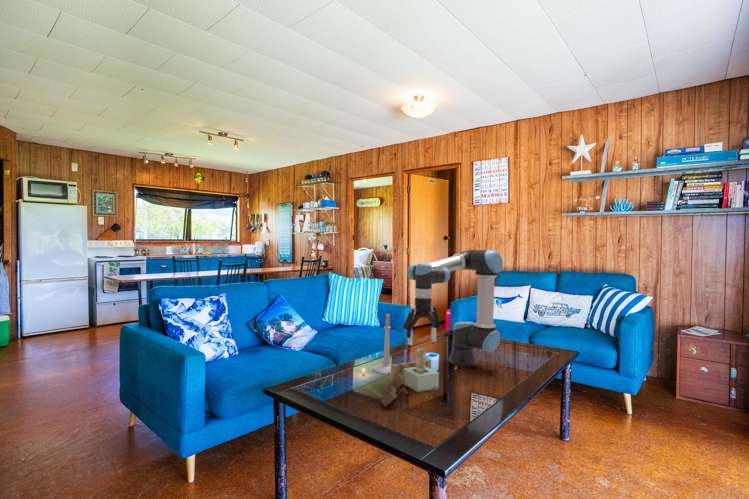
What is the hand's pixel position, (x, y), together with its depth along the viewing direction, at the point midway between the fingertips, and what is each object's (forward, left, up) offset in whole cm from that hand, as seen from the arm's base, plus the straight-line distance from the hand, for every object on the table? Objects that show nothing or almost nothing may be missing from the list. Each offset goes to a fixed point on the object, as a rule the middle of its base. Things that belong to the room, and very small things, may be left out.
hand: (422, 343), depth 181 cm
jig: (0, +2, -21) cm, 21 cm away
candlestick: (+1, -28, -21) cm, 35 cm away
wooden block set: (+19, +5, -21) cm, 29 cm away
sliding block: (0, 0, -20) cm, 20 cm away
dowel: (0, 0, -19) cm, 19 cm away
